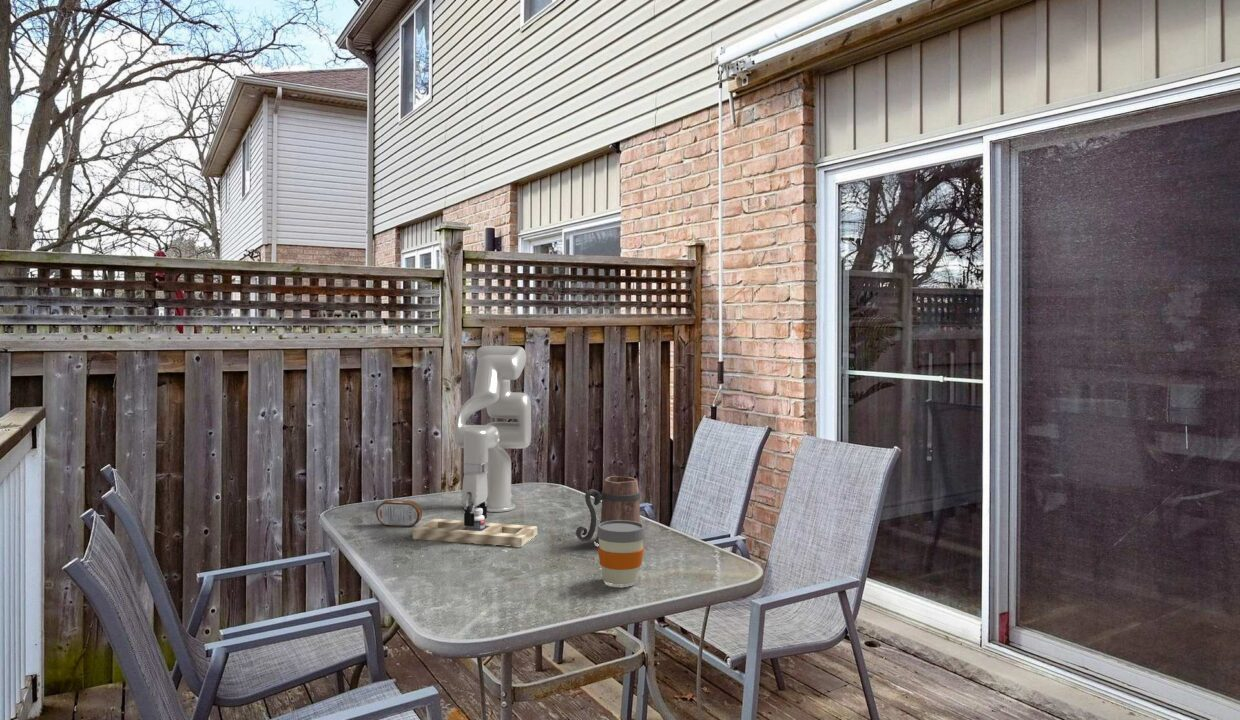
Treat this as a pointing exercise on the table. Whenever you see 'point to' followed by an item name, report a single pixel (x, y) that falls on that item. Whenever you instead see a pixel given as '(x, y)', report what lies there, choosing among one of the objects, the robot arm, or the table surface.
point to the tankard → (613, 503)
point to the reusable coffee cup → (620, 550)
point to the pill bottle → (478, 520)
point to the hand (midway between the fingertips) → (475, 522)
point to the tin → (398, 513)
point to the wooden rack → (475, 533)
